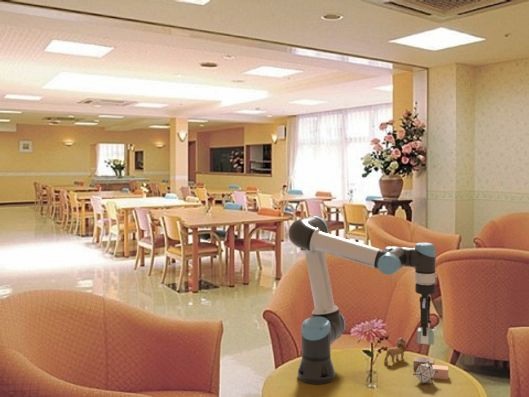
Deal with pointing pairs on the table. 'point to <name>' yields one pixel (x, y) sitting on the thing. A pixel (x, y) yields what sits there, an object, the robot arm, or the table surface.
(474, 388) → the table surface
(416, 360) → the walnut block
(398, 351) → the lion figurine
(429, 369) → the game die
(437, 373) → the terracotta block
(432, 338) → the teal block
